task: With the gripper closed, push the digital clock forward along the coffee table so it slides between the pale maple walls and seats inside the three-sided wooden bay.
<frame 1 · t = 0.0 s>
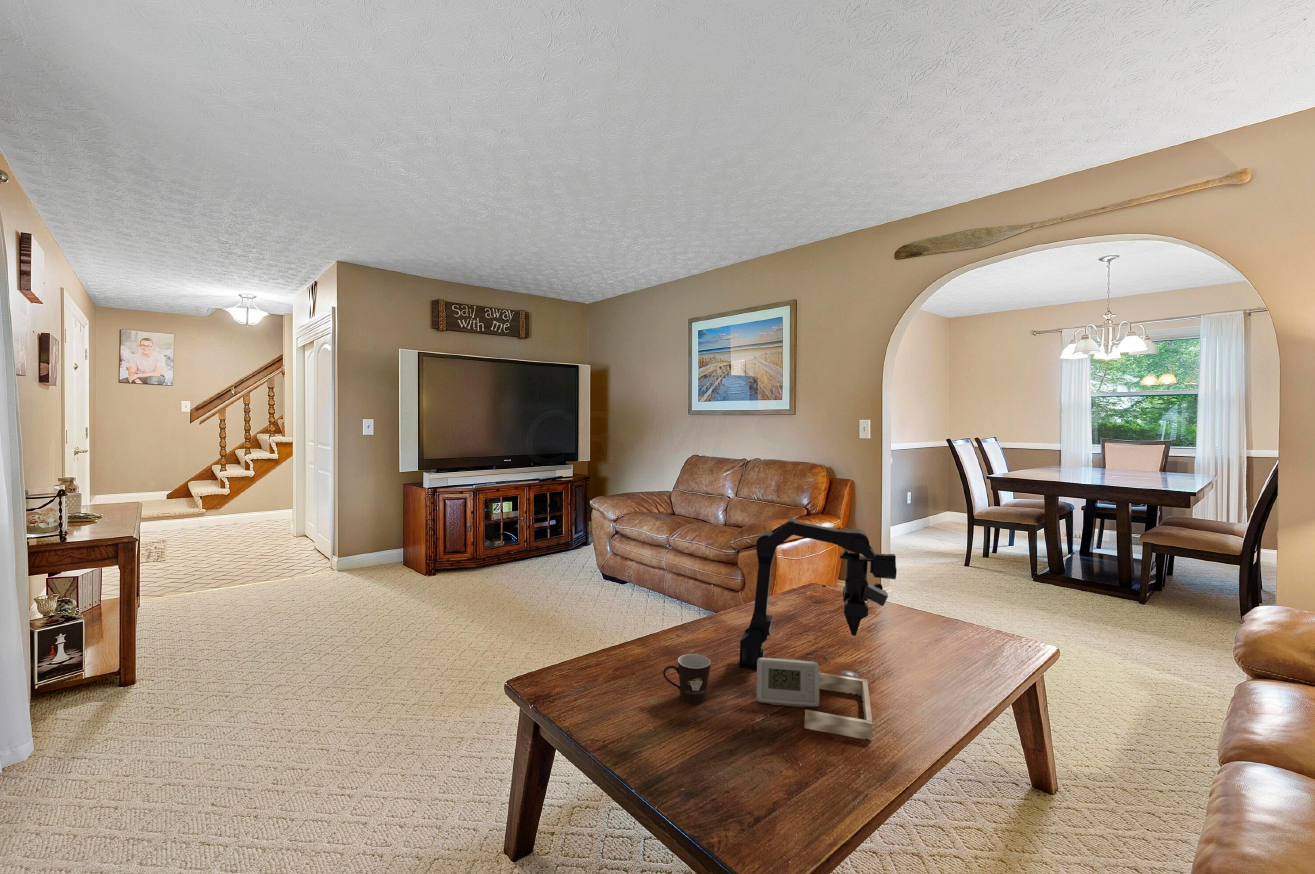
hand: (853, 629, 167), 15 cm above the table, fingers open, 9 cm apart
coffee mug: (687, 697, 154), on the table
wheel: (849, 681, 167), on the table
bay: (834, 709, 150), on the table
digital clock: (786, 702, 154), on the table
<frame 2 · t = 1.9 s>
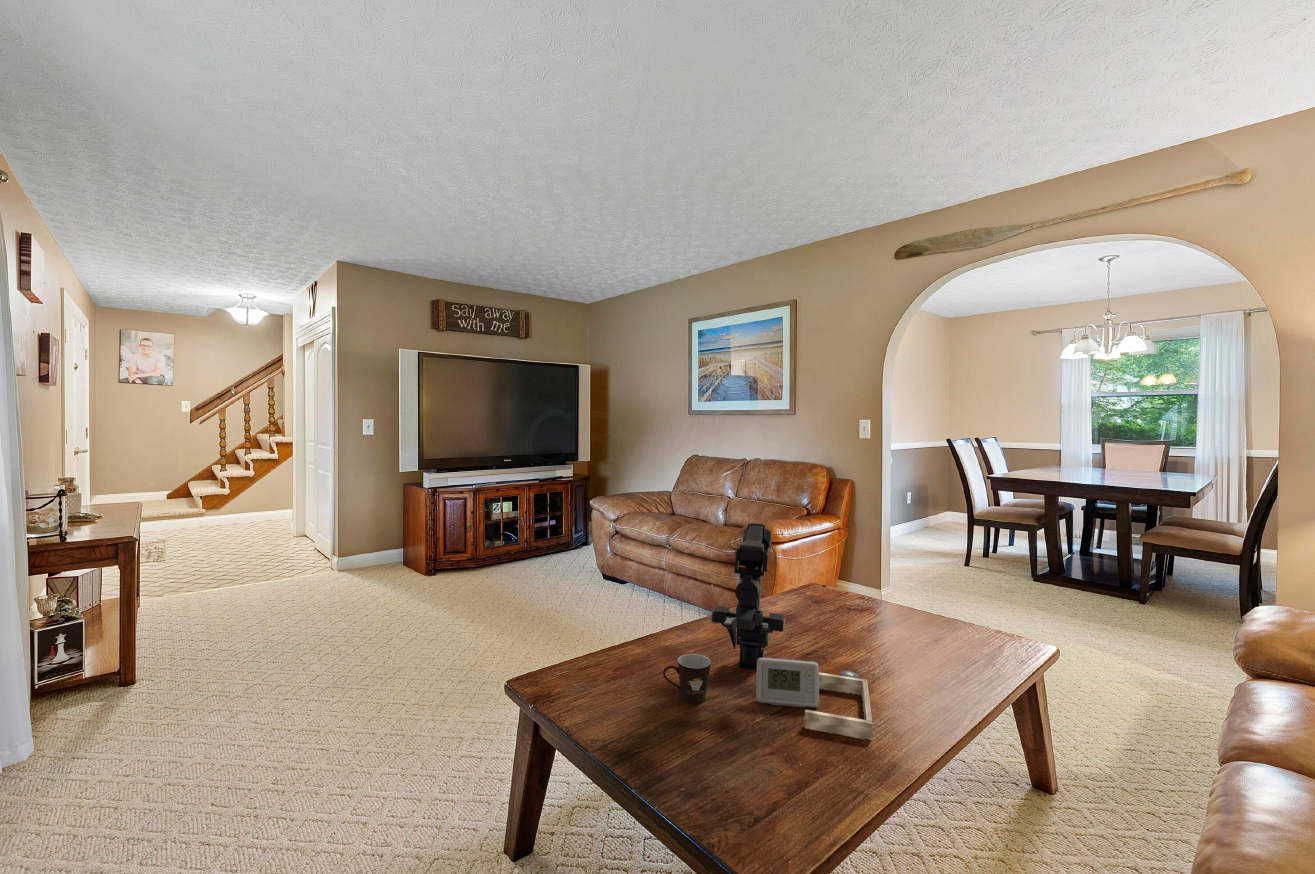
hand: (746, 649, 156), 12 cm above the table, fingers open, 6 cm apart
nothing on the table moved.
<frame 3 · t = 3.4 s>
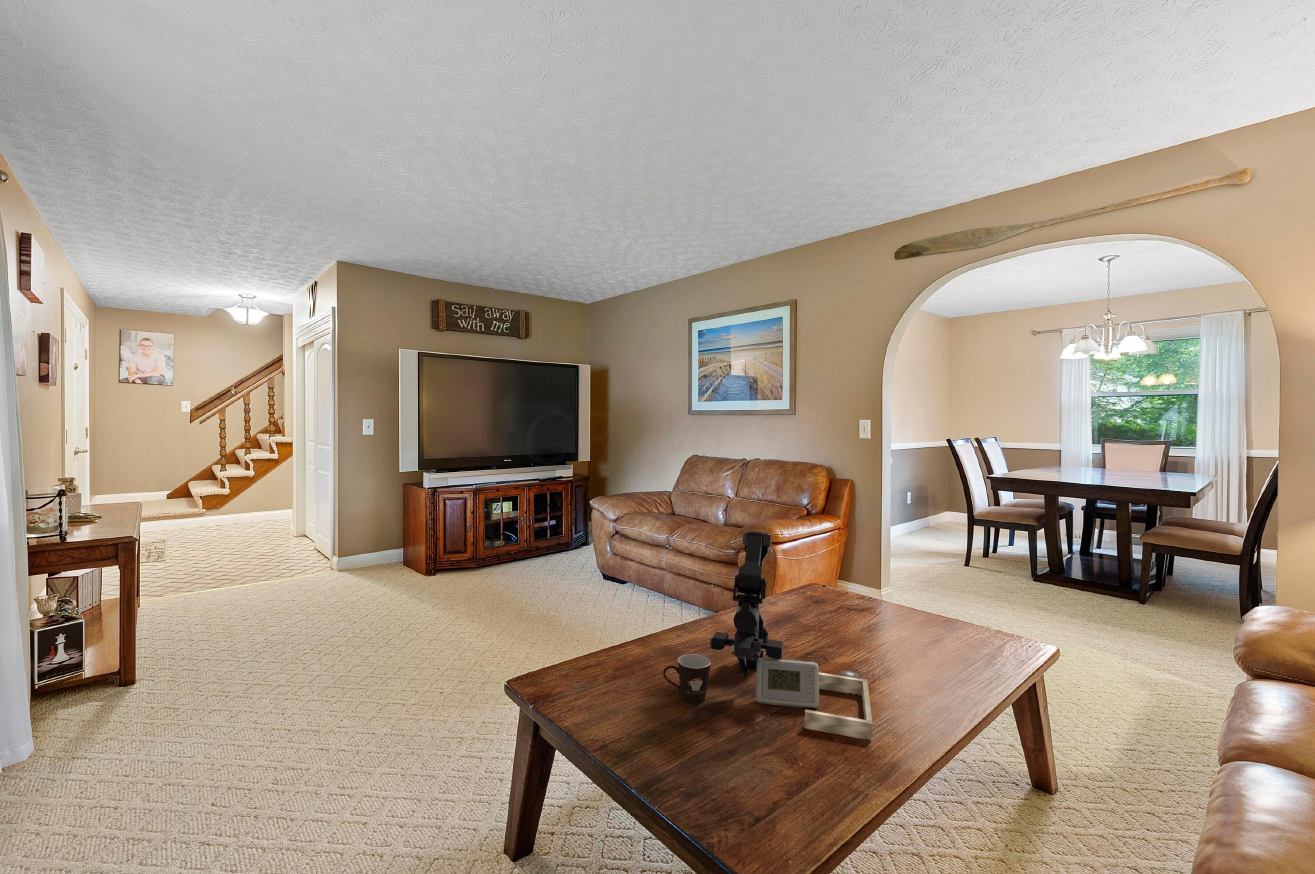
hand: (745, 676, 157), 5 cm above the table, fingers closed
digital clock: (786, 703, 154), on the table, touching gripper
everything else where it was.
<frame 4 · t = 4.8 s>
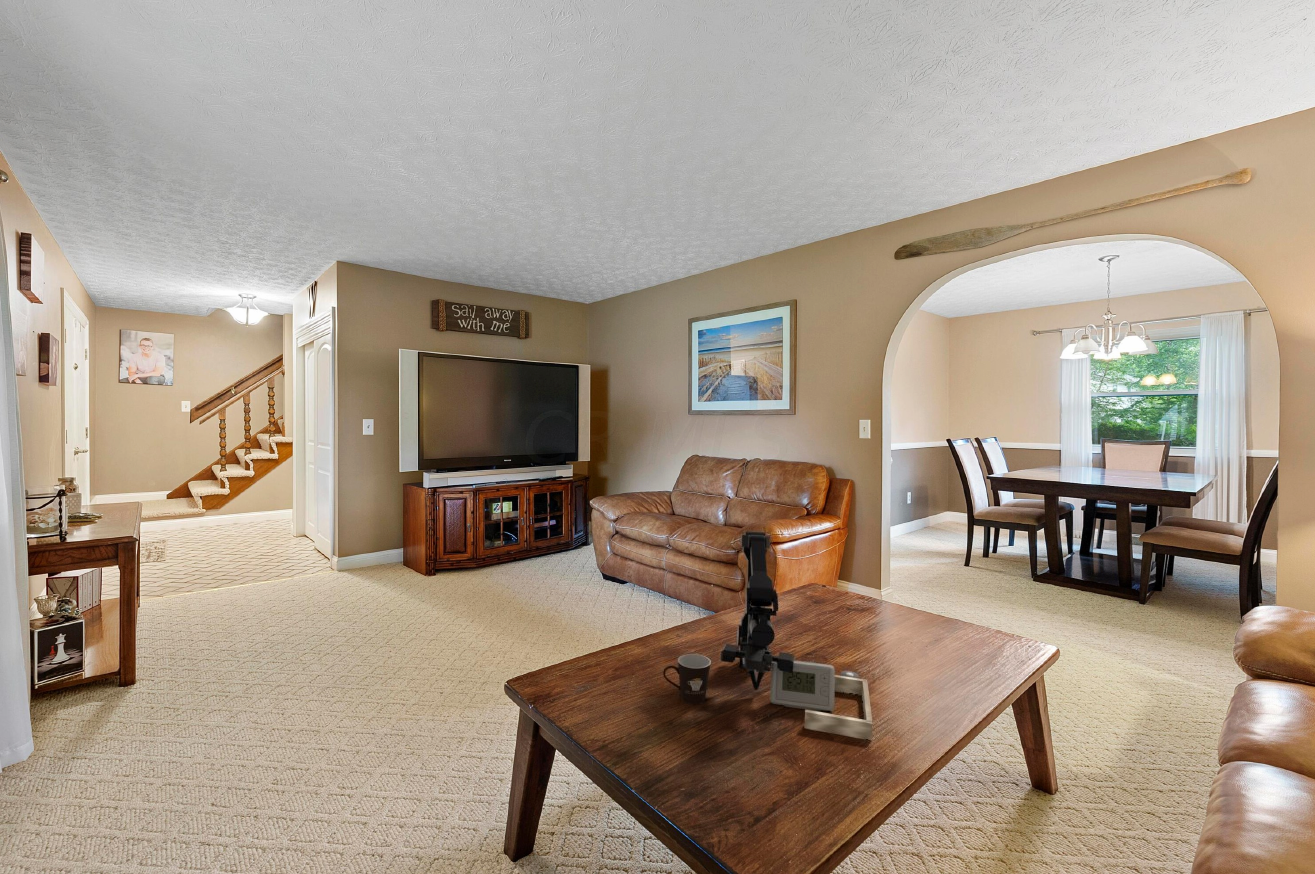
hand: (756, 689, 156), 2 cm above the table, fingers closed, pressing on digital clock
digital clock: (801, 704, 153), on the table, touching gripper
everything else where it was.
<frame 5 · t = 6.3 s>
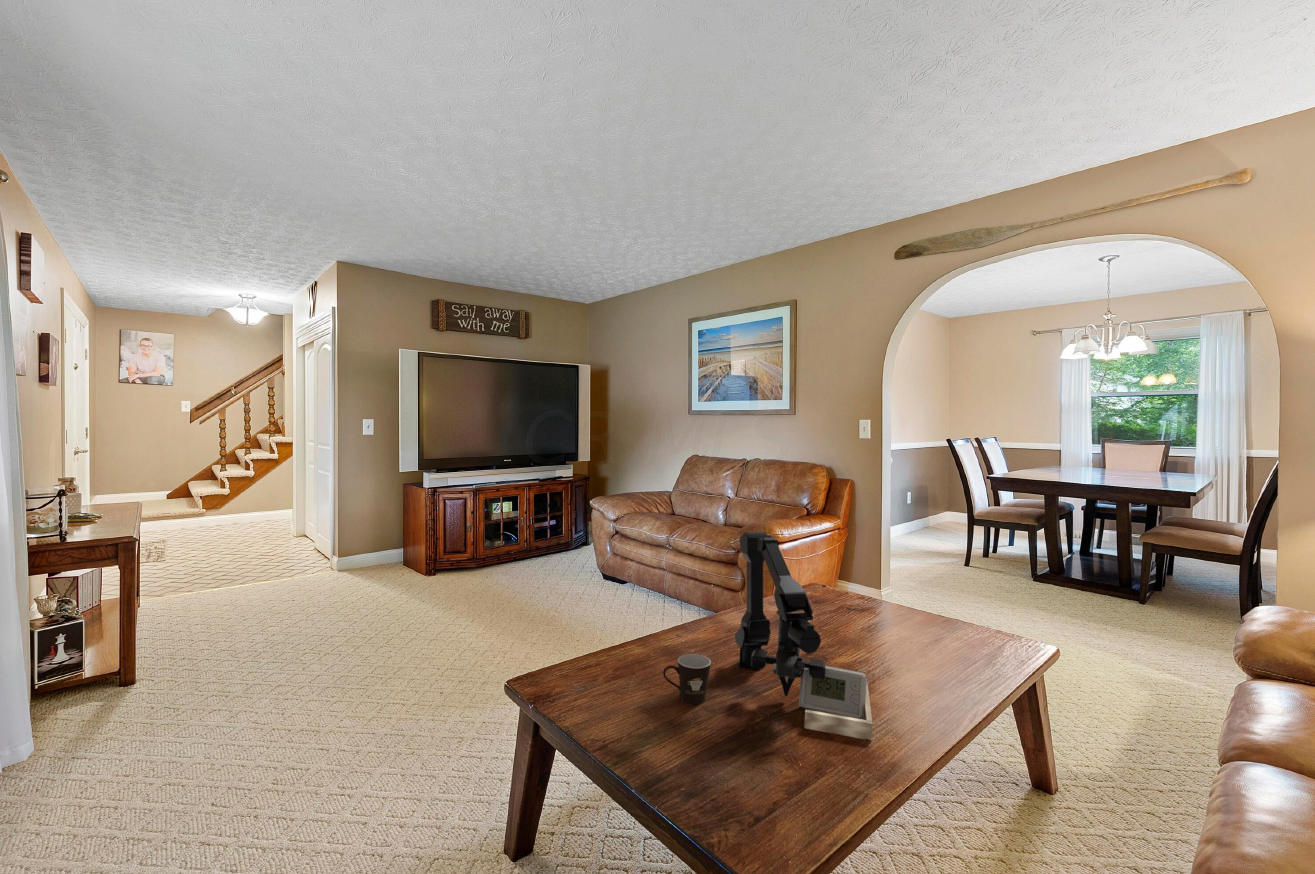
hand: (786, 695, 154), 2 cm above the table, fingers closed
digital clock: (831, 711, 150), on the table, touching bay, gripper
everything else where it was.
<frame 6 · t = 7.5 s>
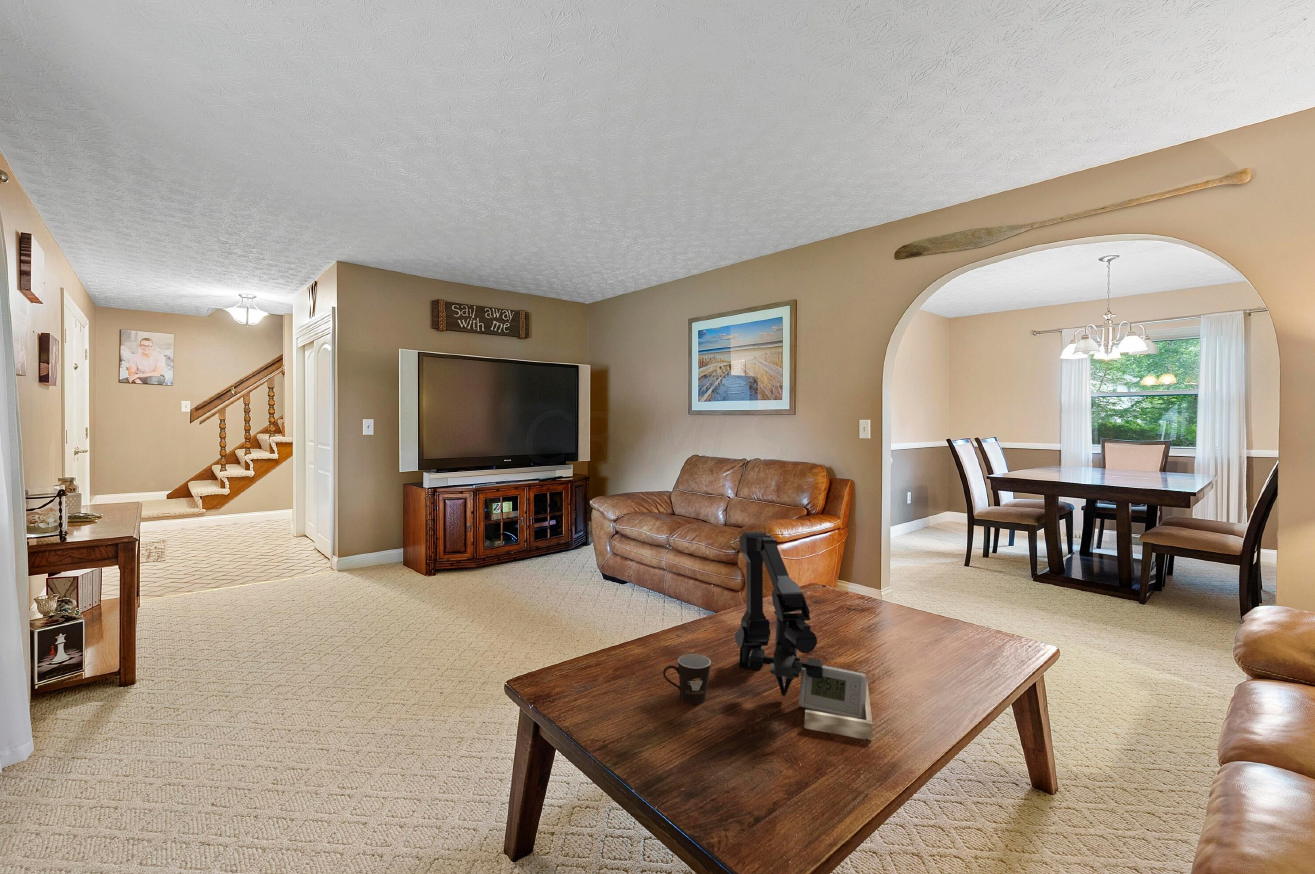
hand: (783, 695, 154), 1 cm above the table, fingers closed
digital clock: (831, 711, 150), on the table
everything else where it was.
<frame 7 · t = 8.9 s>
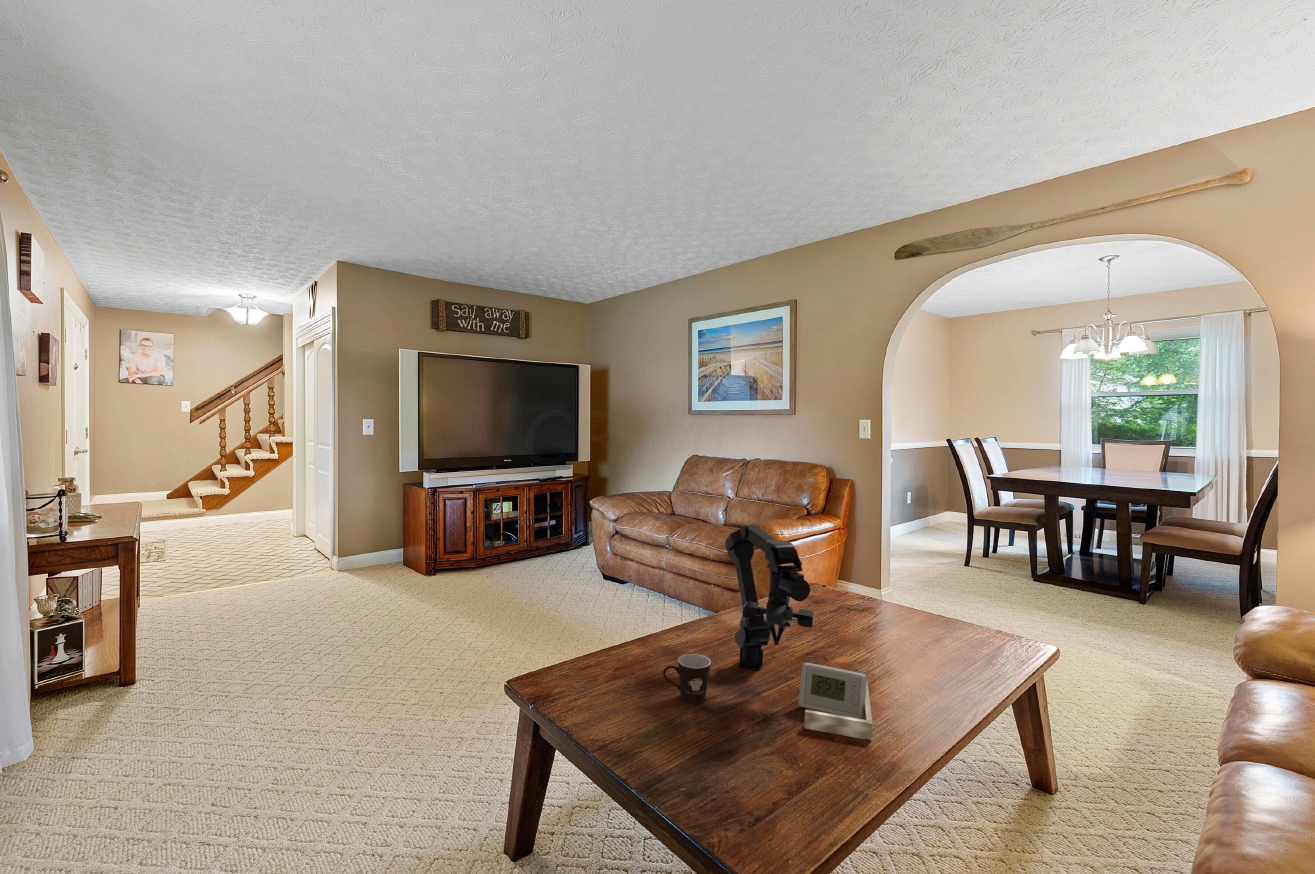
hand: (776, 644, 161), 12 cm above the table, fingers closed
nothing on the table moved.
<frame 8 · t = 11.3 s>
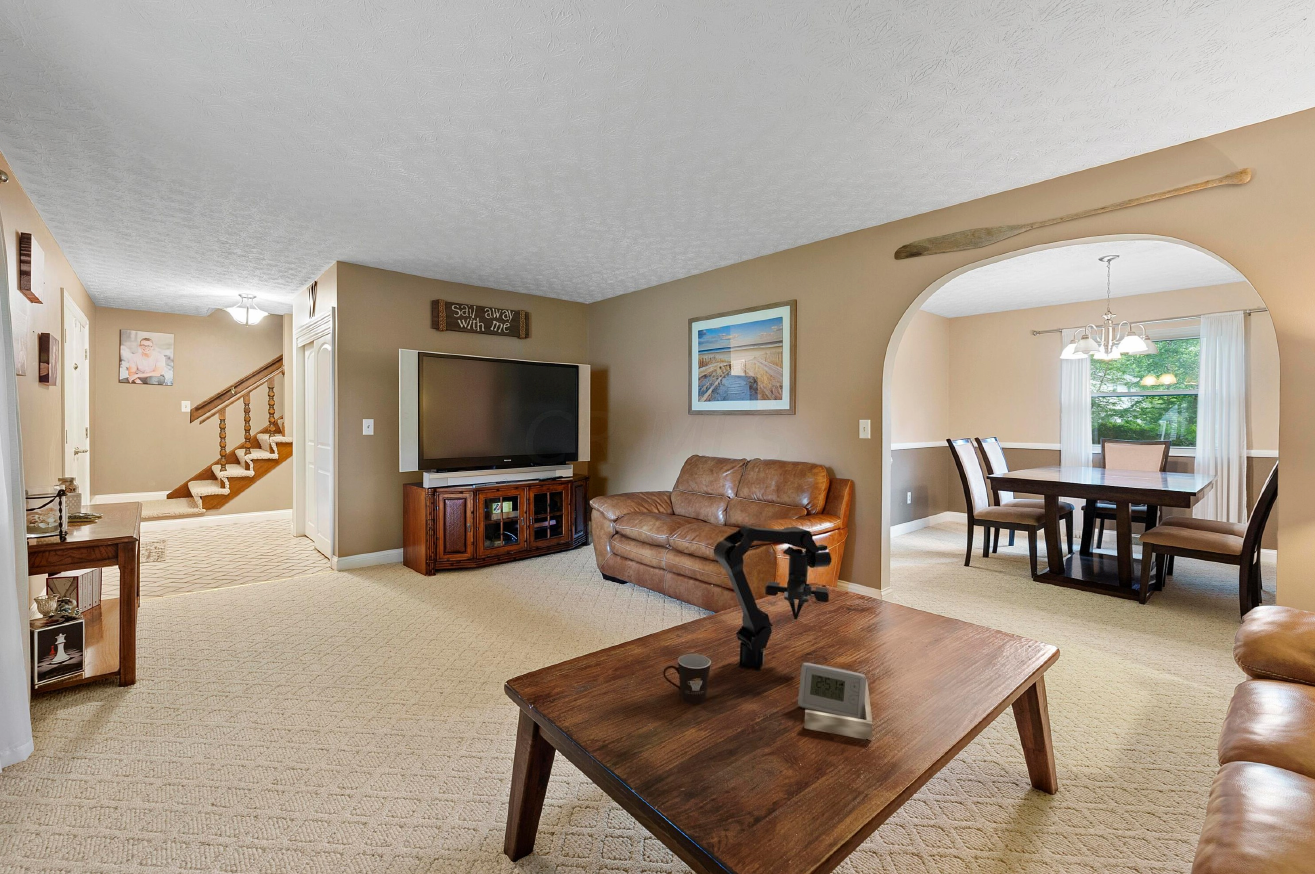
hand: (795, 619, 181), 12 cm above the table, fingers closed
nothing on the table moved.
at the end: digital clock inside the target area on the bay (1.0 cm from its centre), point 0.0 cm above the bay's base; digital clock moved 11.0 cm from its start; digital clock tilted 0° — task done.
